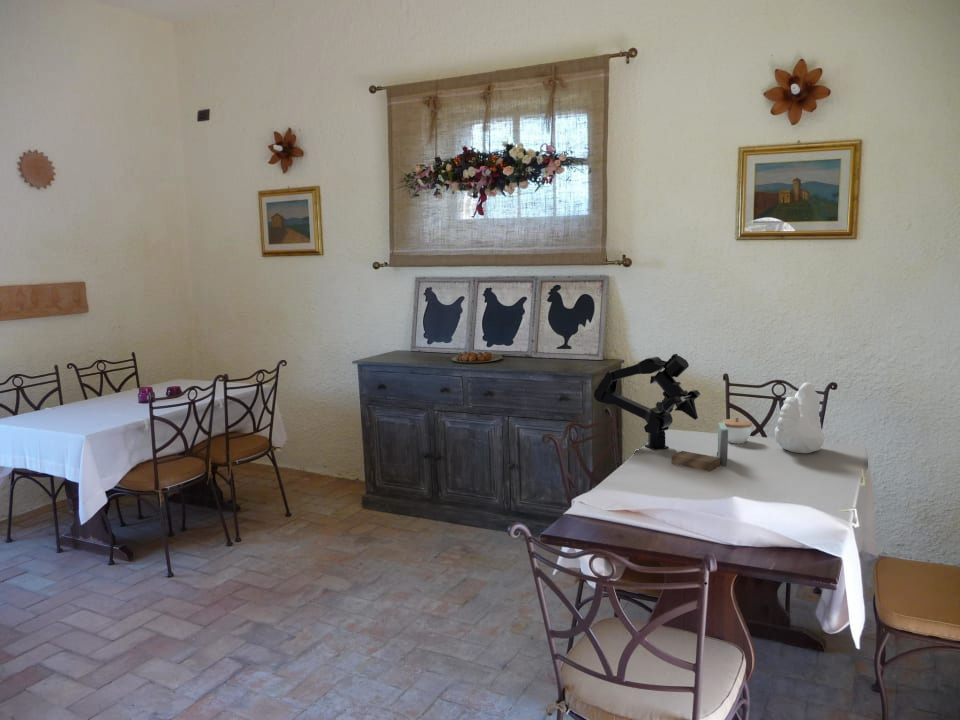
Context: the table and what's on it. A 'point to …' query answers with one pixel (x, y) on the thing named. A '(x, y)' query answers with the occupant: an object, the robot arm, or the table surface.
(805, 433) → the decorative rooster
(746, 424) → the lidded jar
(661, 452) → the table surface
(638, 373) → the robot arm
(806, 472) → the table surface
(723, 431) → the green rectangular panel
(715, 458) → the stool seat
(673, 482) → the table surface
